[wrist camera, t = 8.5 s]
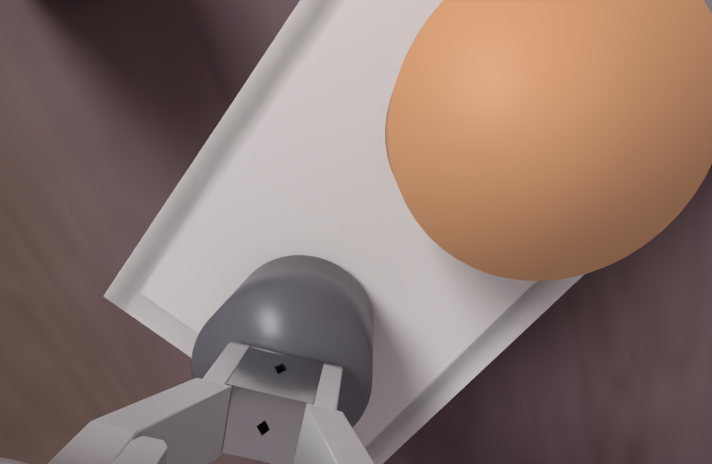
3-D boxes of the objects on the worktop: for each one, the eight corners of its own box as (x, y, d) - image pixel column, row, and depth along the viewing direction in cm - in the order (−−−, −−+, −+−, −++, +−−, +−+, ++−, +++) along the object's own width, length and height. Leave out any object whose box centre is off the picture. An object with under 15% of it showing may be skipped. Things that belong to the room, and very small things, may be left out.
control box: (369, 381, 20) (365, 479, 14) (187, 247, 19) (103, 296, 13) (749, -11, 15) (989, -106, 9) (532, -240, 13) (649, -525, 8)
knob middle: (461, 234, 13) (548, 335, 6) (352, 144, 12) (324, 153, 6) (566, 121, 12) (804, 100, 5) (452, 16, 11) (557, -153, 5)
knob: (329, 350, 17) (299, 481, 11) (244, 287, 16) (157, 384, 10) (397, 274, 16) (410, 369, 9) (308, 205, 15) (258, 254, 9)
